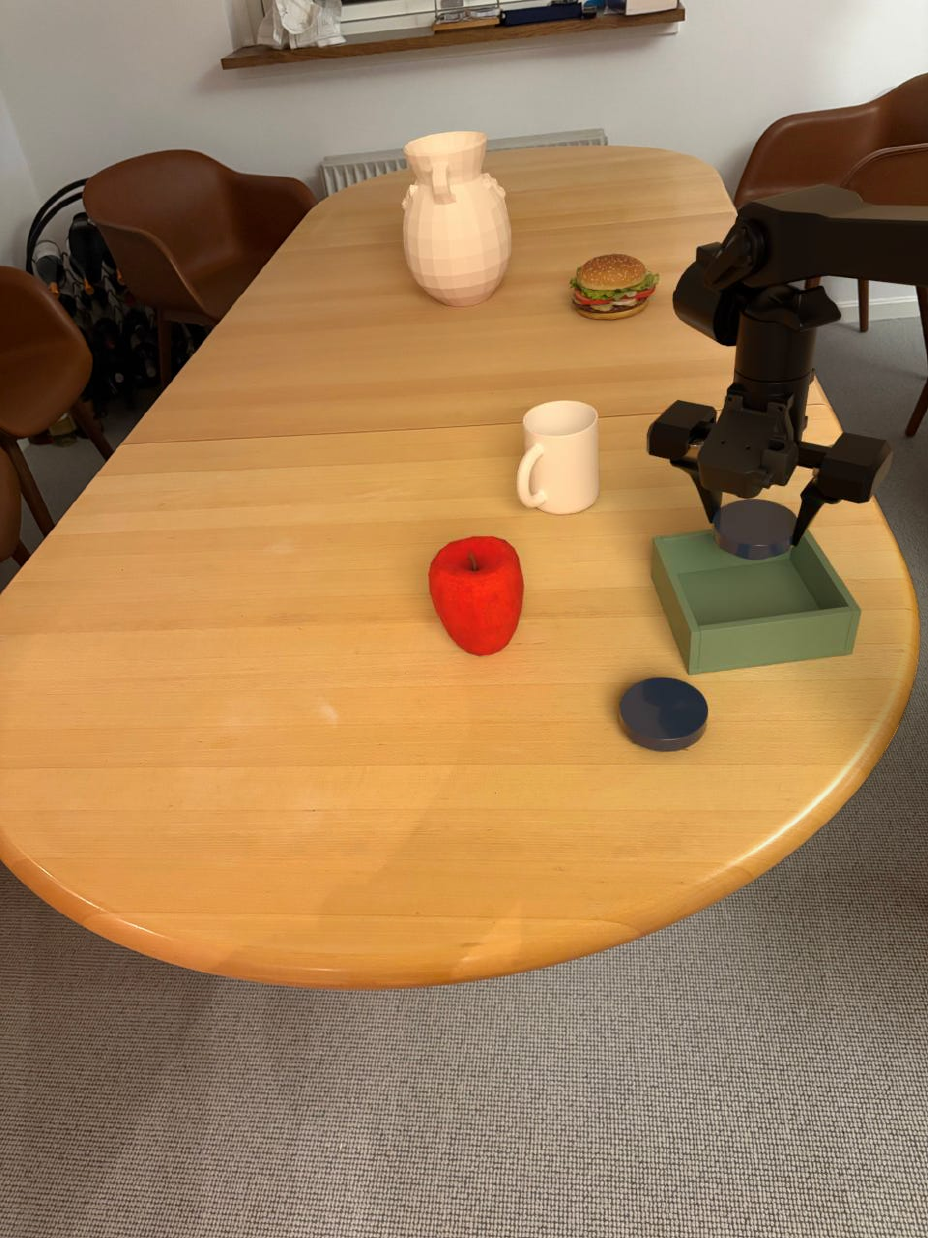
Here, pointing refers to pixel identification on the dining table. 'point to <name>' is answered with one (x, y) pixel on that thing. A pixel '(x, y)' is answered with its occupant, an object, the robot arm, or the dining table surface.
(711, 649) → the tub
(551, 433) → the mug
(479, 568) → the apple
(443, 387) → the dining table surface
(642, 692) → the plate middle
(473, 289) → the pitcher
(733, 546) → the dark round disc
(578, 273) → the food
